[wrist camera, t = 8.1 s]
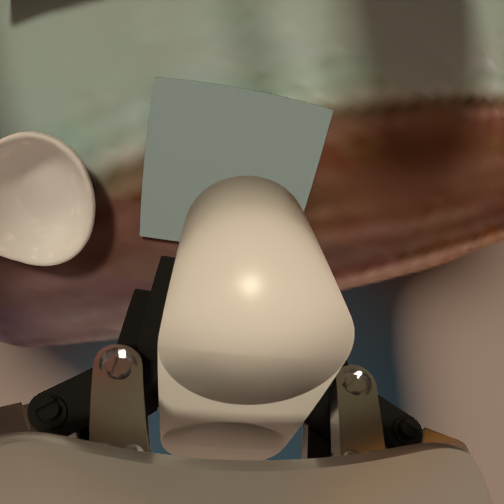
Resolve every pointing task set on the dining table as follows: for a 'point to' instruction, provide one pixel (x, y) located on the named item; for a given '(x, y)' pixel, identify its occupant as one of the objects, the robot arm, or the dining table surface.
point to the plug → (247, 325)
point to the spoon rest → (43, 200)
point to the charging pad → (222, 146)
